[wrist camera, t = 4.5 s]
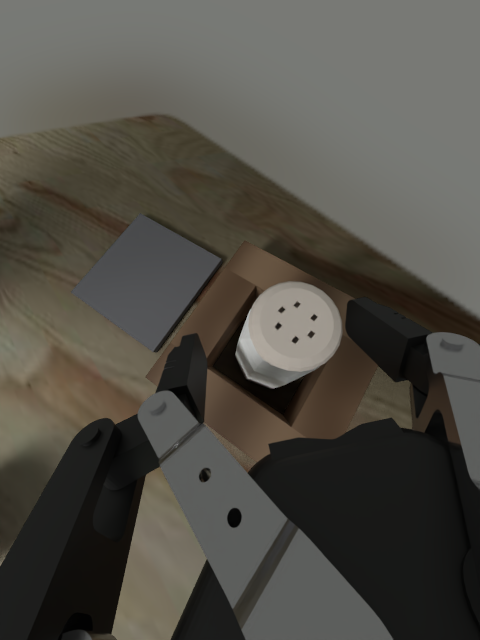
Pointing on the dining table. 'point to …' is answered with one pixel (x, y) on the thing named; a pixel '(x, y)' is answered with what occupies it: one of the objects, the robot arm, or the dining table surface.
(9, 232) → the dining table surface
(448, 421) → the robot arm
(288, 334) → the pepper shaker
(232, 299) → the socket block
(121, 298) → the rubber pad
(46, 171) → the dining table surface
